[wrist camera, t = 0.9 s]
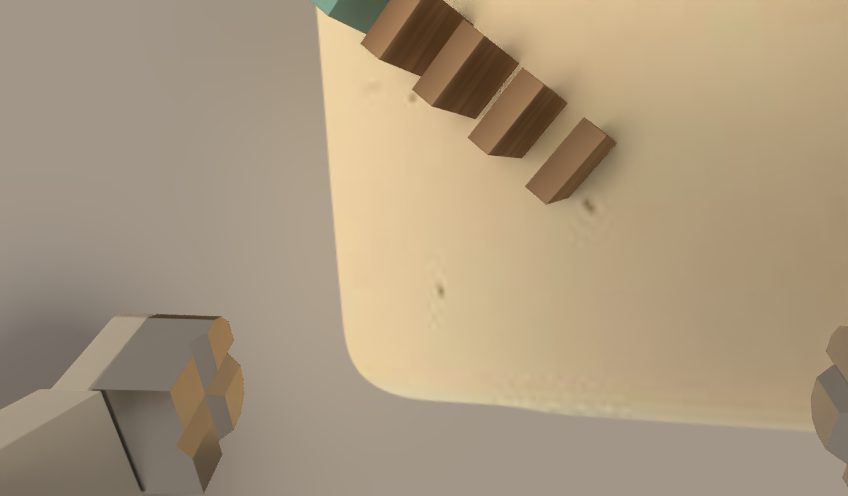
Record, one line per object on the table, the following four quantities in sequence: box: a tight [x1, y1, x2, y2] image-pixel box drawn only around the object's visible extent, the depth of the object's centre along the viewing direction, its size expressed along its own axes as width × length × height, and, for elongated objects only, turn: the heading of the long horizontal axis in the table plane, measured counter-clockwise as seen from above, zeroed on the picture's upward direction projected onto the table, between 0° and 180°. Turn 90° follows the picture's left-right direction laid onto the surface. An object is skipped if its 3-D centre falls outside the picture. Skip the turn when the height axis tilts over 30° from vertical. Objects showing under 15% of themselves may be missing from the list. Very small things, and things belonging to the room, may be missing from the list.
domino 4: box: [361, 0, 474, 77], centre depth 43 cm, size 2×5×10 cm, turn 141°
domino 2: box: [468, 68, 567, 158], centre depth 41 cm, size 2×5×10 cm, turn 141°
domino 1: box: [525, 118, 616, 205], centre depth 41 cm, size 2×5×10 cm, turn 141°
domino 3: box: [412, 19, 519, 119], centre depth 42 cm, size 2×5×10 cm, turn 141°
